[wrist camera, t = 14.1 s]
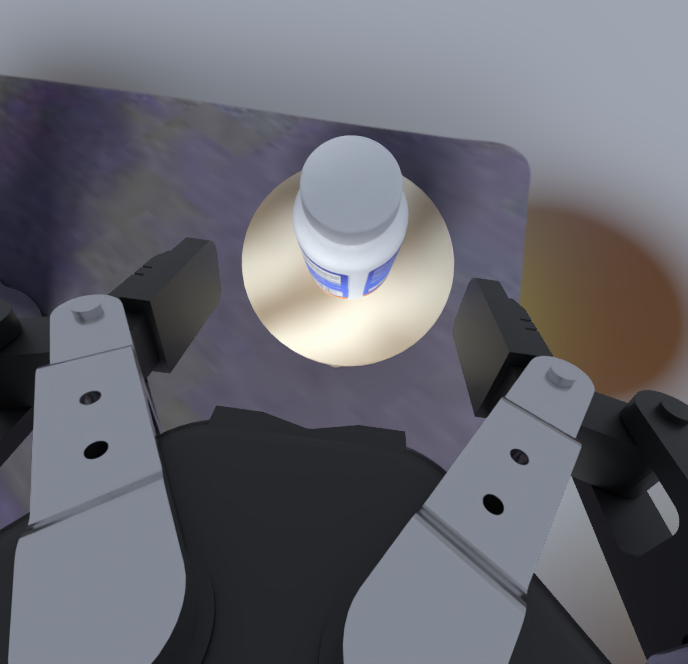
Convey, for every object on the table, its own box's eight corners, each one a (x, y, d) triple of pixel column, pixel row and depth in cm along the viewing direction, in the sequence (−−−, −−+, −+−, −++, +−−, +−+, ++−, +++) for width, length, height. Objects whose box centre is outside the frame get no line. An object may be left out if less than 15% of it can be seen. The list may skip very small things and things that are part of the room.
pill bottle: (381, 216, 23) (408, 104, 14) (397, 294, 23) (437, 235, 13) (301, 229, 23) (270, 126, 13) (314, 308, 22) (292, 260, 13)
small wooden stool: (241, 279, 33) (200, 237, 23) (359, 197, 34) (368, 123, 24) (330, 400, 32) (326, 410, 22) (448, 309, 33) (496, 280, 23)
